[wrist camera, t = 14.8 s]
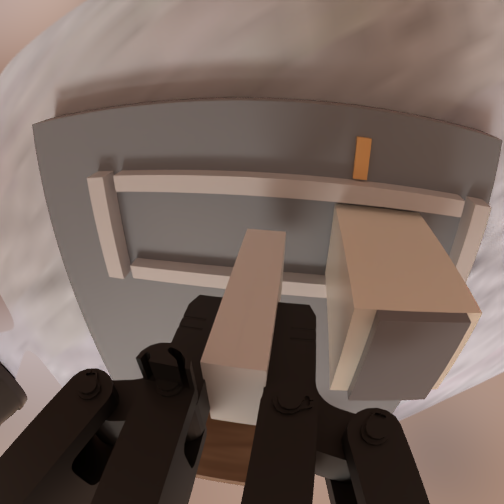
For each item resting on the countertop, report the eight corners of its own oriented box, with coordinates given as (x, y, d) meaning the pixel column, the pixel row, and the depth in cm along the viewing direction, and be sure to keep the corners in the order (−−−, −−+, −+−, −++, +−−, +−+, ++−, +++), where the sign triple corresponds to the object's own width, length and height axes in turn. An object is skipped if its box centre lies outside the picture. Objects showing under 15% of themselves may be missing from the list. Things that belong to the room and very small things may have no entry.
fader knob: (325, 272, 15) (329, 399, 9) (334, 203, 13) (356, 319, 7) (401, 278, 15) (439, 397, 9) (419, 212, 13) (487, 322, 7)
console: (133, 390, 28) (97, 471, 20) (54, 117, 15) (-82, 177, 6) (373, 420, 25) (377, 514, 17) (482, 131, 12) (622, 214, 3)
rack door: (170, 404, 24) (149, 462, 19) (306, 421, 23) (301, 487, 18) (176, 417, 26) (157, 472, 20) (303, 433, 24) (298, 494, 19)
